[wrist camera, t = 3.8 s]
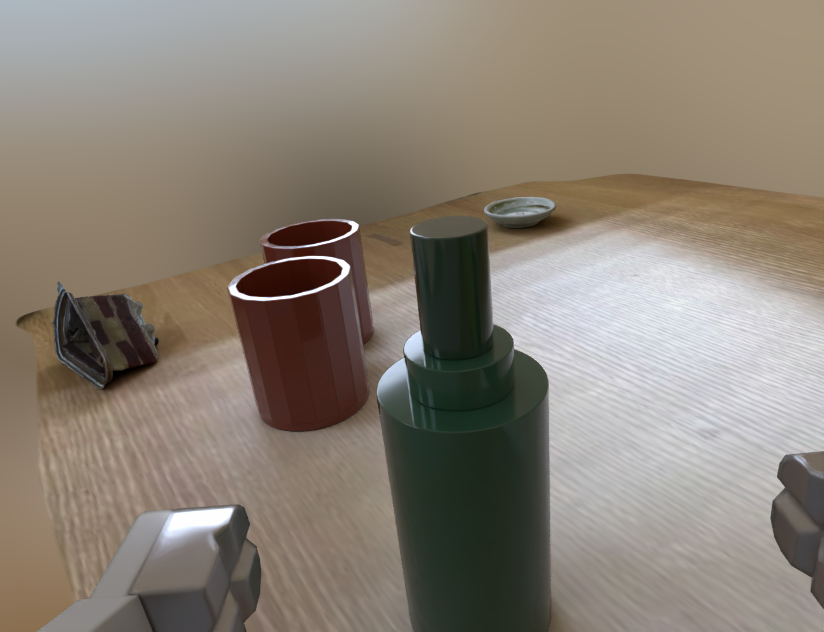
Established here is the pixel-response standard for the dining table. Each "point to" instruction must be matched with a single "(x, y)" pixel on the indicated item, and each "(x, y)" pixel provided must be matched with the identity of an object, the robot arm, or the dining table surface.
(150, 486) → the dining table surface
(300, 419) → the near cup
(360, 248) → the far cup
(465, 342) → the bottle
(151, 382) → the dining table surface
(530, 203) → the saucer
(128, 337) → the checkered pouch
